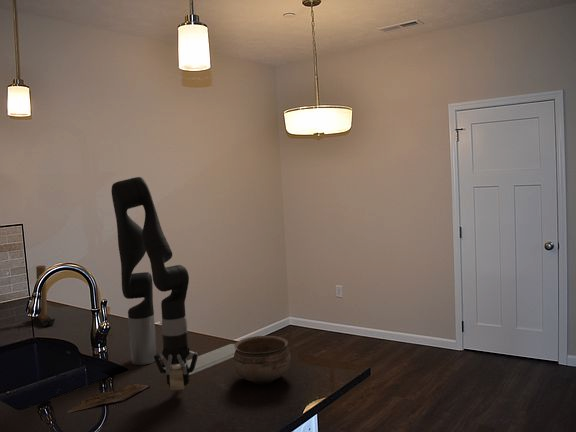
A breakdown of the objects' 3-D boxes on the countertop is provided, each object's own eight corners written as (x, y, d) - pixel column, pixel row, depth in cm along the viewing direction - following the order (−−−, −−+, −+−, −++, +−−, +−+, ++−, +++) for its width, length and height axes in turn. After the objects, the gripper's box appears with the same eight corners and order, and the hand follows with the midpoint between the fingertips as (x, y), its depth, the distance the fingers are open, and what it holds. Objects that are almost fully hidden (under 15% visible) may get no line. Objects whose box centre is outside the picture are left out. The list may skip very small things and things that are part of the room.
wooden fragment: (142, 382, 175) (142, 379, 175) (156, 392, 166) (155, 389, 166) (61, 406, 159) (61, 403, 159) (71, 419, 151) (71, 415, 150)
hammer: (55, 330, 250) (53, 271, 244) (44, 332, 247) (42, 273, 241) (41, 316, 265) (40, 260, 258) (31, 318, 261) (29, 261, 255)
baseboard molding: (253, 352, 200) (231, 347, 208) (252, 345, 200) (231, 340, 208) (190, 379, 177) (168, 372, 184) (189, 370, 176) (167, 364, 184)
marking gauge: (180, 374, 171) (179, 356, 171) (192, 373, 171) (191, 356, 170) (170, 389, 159) (169, 370, 159) (183, 389, 159) (182, 370, 158)
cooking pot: (309, 383, 167) (307, 346, 166) (260, 401, 155) (258, 361, 154) (264, 363, 187) (263, 329, 186) (218, 377, 175) (216, 342, 174)
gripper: (200, 326, 163) (203, 379, 164) (155, 327, 163) (159, 380, 165) (194, 334, 155) (198, 389, 157) (148, 335, 156) (152, 390, 158)
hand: (178, 384), depth 161 cm, fingers closed on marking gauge, 4 cm apart
